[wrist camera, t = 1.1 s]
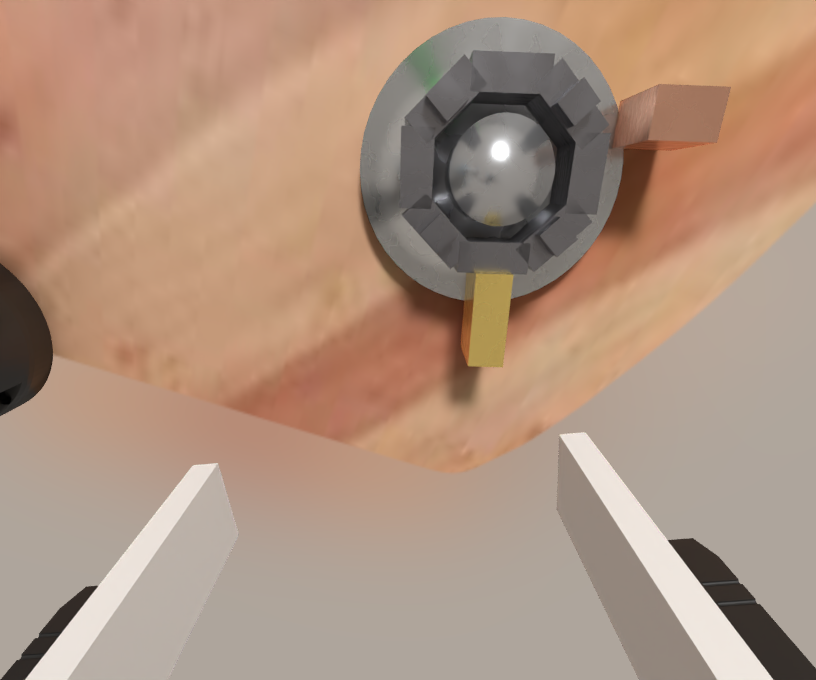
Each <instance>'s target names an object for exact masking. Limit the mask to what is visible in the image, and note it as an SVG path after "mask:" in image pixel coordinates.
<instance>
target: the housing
mask: <svg viewBox="0 0 816 680" xmlns="http://www.w3.org/2000/svg"><path fill="white" fill-rule="evenodd" d="M473 50H479V51H504V52H529V53H554V54H555V60H554V65H555V64H556V63H558V62H559V61H560V60H561V59H562V58H563V59H564V60H565V61H566V63H567V64H568V66H569V67H570V69H571V70H572V72H573V73H574V74H575V76H576V77H577V79H578V80H580V79H582V78H583V77H585V79H586V80H587V82H588V83H589V84H590V86H591V87H592V89H593V90H594V92H595V93H596V95H597V96H598V98H599V99H600V100H601V102H600V103H598V104H597V105H596V106H597V108H598V109H599V110H600V112H601V113H602V115H603V116H604V118H605V119H606V121H607V122H608V123H609V125H608V126H607V127H606V128H605V129H604V130H603V131H602V132H601V133H611V136H610V142H609V148H608V153H607V159H606V165H605V170H604V176H603V182H602V188H601V193H600V199H599V205H598V210H597V215H591V214H587V216H588V217H589V218H590V220H591V221H592V223H591V224H590V225H589V226H587V227H586V228H585V229H584V230H583V231H582V232H580V233H579V234H578V235H577V236H576V237H577V238H578V240H577V241H576V242H574V243H573V244H572V245H571V246H570V247H569V248H567V249H566V250H565V251H564V252H563V253H562V254H560V255H559V256H558V257H555V256H552V257H551V258H550V259H549V260H548V261H547V262H545V263H544V264H543V265H542V266H541V267H540V268H538V269H537V270H536V271H535V272H534V271H532V270H530V269H529V268H528V271H527V275H524V274H513V284H512V292H511V299H512V298H516V297H519V296H523V295H526V294H528V293H531V292H533V291H535V290H538V289H540V288H542V287H544V286H545V285H547V284H549V283H550V282H552V281H554V280H555V279H557V278H558V277H559V276H561V275H562V274H564V273H565V272H566V271H568V270H569V269H570V268H571V267H572V266H573V265H574V264H575V263H576V262H577V261H578V260H579V259H580V258H581V257H582V256H583V255H584V254H585V253H586V251H587V250H588V249H589V248H590V247H591V245H592V244H593V243H594V241H595V240H596V238H597V237H598V235H599V234H600V232H601V231H602V229H603V227H604V225H605V223H606V221H607V219H608V217H609V215H610V213H611V210H612V208H613V205H614V202H615V200H616V197H617V193H618V189H619V185H620V181H621V175H622V167H623V149H643V150H670V151H671V150H677V149H682V148H688V147H694V146H700V145H706V144H712V143H717V140H718V136H719V132H720V128H721V124H722V120H723V116H724V112H725V109H726V105H727V101H728V97H729V93H730V89H731V87H719V86H693V85H667V84H659V85H656V86H654V87H652V88H650V89H647V90H645V91H643V92H640V93H638V94H636V95H634V96H631V97H629V98H627V99H625V100H622V101H620V106H619V112H618V108H617V104H616V102H615V99H614V97H613V94H612V92H611V89H610V87H609V85H608V84H607V82H606V80H605V78H604V77H603V75H602V73H601V71H600V70H599V69H598V67H597V66H596V65H595V64H594V62H593V61H592V60H591V58H590V57H589V56H588V55H587V54H586V53H585V52H584V51H583V50H582V49H581V48H579V47H578V46H577V45H576V44H575V43H574V42H572V41H571V40H569V39H568V38H567V37H565V36H564V35H562V34H561V33H559V32H557V31H555V30H553V29H551V28H549V27H546V26H544V25H542V24H538V23H535V22H532V21H528V20H525V19H517V18H508V17H497V18H483V19H478V20H473V21H468V22H465V23H462V24H459V25H456V26H454V27H451V28H448V29H446V30H445V31H443V32H441V33H439V34H437V35H435V36H433V37H431V38H430V39H429V40H427V41H426V42H425V43H423V44H422V45H420V46H419V47H418V48H416V49H415V50H414V51H413V52H412V53H411V54H410V55H409V56H408V57H407V58H406V59H405V60H404V61H403V62H402V63H401V64H400V65H399V66H398V67H397V69H396V70H395V71H394V72H393V74H392V75H391V76H390V77H389V79H388V80H387V82H386V84H385V85H384V87H383V89H382V90H381V92H380V93H379V95H378V97H377V99H376V102H375V104H374V106H373V108H372V111H371V113H370V116H369V119H368V122H367V125H366V129H365V132H364V137H363V143H362V148H361V160H360V178H361V190H362V195H363V200H364V206H365V209H366V212H367V215H368V218H369V221H370V224H371V226H372V228H373V230H374V232H375V234H376V237H377V239H378V240H379V242H380V243H381V245H382V246H383V248H384V250H385V251H386V253H387V254H388V255H389V256H390V257H391V259H392V260H393V261H394V262H395V263H396V265H397V266H398V267H400V268H401V269H402V270H403V271H404V272H405V273H406V274H407V275H408V276H410V277H411V278H412V279H414V280H415V281H417V282H418V283H419V284H421V285H423V286H425V287H426V288H428V289H430V290H432V291H434V292H437V293H439V294H442V295H445V296H447V297H451V298H455V299H459V300H464V298H465V286H466V273H460V272H457V271H456V270H455V268H454V267H452V268H451V269H450V268H449V267H448V266H447V265H446V264H445V263H444V262H443V261H442V259H441V258H440V257H439V256H438V255H437V254H436V253H435V252H434V251H433V250H432V248H431V247H430V246H429V245H428V244H427V243H426V242H425V241H424V240H423V238H422V237H421V236H420V235H419V234H418V233H417V232H416V231H415V230H414V228H413V227H412V226H411V225H410V224H409V223H408V222H407V221H406V220H405V219H404V217H403V216H402V214H403V213H404V212H405V211H406V210H407V209H408V208H399V199H400V158H401V126H405V116H406V115H407V114H408V113H409V112H410V111H411V110H412V109H413V108H414V107H415V106H416V105H417V104H418V103H419V101H420V100H421V99H422V98H423V97H424V96H425V95H426V94H427V93H428V91H429V90H430V89H431V88H432V87H433V86H434V85H435V84H436V83H437V82H438V81H439V80H440V79H441V78H442V77H443V76H444V75H445V74H446V73H447V72H448V71H449V70H450V69H451V68H452V67H453V66H454V65H455V64H456V62H457V61H458V60H459V59H460V58H461V57H462V56H463V55H464V54H465V55H466V56H467V58H468V59H469V58H470V56H471V54H472V52H473ZM556 154H557V147H556V146H555V145H554V143H553V142H552V141H551V139H550V138H549V137H548V135H547V134H546V133H545V131H544V130H543V129H542V127H541V126H540V125H539V123H538V122H537V121H536V119H535V118H534V117H533V115H532V114H531V112H530V111H529V110H528V108H527V107H526V106H525V105H500V104H474V103H471V104H470V105H469V106H468V107H467V108H466V110H465V111H464V112H463V113H462V114H461V115H460V116H459V117H458V118H457V119H456V120H455V121H454V122H453V123H452V124H451V125H450V126H449V127H448V128H447V129H446V130H445V131H444V132H443V133H442V134H441V135H440V136H439V137H438V138H437V139H436V140H435V144H434V164H433V185H432V201H433V202H434V203H435V204H436V205H437V206H438V207H439V209H440V210H441V211H442V212H443V213H444V214H445V216H446V217H447V218H448V219H449V220H450V221H451V222H452V224H453V225H454V226H455V227H456V228H457V229H458V230H459V232H460V233H461V234H462V235H463V236H464V237H483V238H511V237H513V236H514V235H515V234H516V233H517V232H518V231H519V230H520V229H522V228H523V227H524V226H525V225H526V224H527V223H528V222H529V221H530V220H532V219H533V218H534V217H535V216H536V215H537V214H538V213H539V212H541V211H542V210H543V209H544V208H545V207H546V206H547V205H548V204H549V203H550V197H551V190H552V183H553V180H554V175H555V161H556Z"/></svg>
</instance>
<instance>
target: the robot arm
mask: <svg viewBox="0 0 816 680" xmlns="http://www.w3.org/2000/svg"><path fill="white" fill-rule="evenodd" d="M52 361H53V350H52V340H51V336H50V331H49V328H48V325H47V323H46V320H45V318H44V316H43V313H42V311H41V310H40V308H39V306H38V304H37V303H36V301H35V300H34V298H33V297H32V295H31V294H30V293H29V291H28V290H27V289H26V288H25V286H24V285H23V284H22V283H21V282H20V281H19V280H18V279H17V278H16V277H15V276H14V275H13V274H12V273H11V272H10V271H9V270H8V269H6V268H5V267H4V266H3V265H1V264H0V416H1V415H3V414H5V413H7V412H9V411H11V410H13V409H14V408H16V407H18V406H20V405H22V404H24V403H25V402H27V401H29V400H30V399H31V398H33V397H34V396H35V395H36V394H37V393H38V392H39V391H40V390H41V389H42V387H43V386H44V384H45V383H46V381H47V379H48V376H49V374H50V371H51V366H52ZM558 458H559V459H558V487H557V511H558V513H559V515H560V517H561V519H562V521H563V523H564V526H565V527H566V530H567V532H568V534H569V536H570V538H571V540H572V542H573V544H574V546H575V548H576V550H577V552H578V555H579V557H580V559H581V561H582V563H583V565H584V567H585V569H586V571H587V573H588V575H589V577H590V579H591V581H592V584H593V586H594V588H595V589H596V592H597V594H598V596H599V598H600V600H601V602H602V604H603V606H604V608H605V610H606V612H607V614H608V617H609V619H610V621H611V623H612V625H613V627H614V629H615V631H616V633H617V635H618V637H619V639H620V641H621V644H622V646H623V648H624V650H625V652H626V654H627V656H628V658H629V660H630V662H631V664H632V666H633V668H634V670H635V672H636V675H637V677H638V679H639V680H816V668H815V667H814V666H813V665H812V664H811V663H810V661H808V659H807V658H806V657H805V656H804V655H803V653H802V652H801V651H800V650H799V649H798V648H797V646H796V645H795V644H794V643H793V642H792V641H791V640H790V638H789V637H788V636H787V635H786V634H785V633H784V632H783V630H782V629H781V628H780V627H779V626H778V625H777V623H776V622H775V621H774V620H773V619H772V618H771V617H770V615H769V614H768V613H767V612H766V611H765V610H764V608H763V607H762V606H761V605H760V604H757V603H756V601H755V598H754V597H753V596H752V595H751V594H750V592H749V591H748V590H747V589H746V588H745V587H744V585H743V584H740V583H739V581H738V578H737V577H736V576H735V575H734V574H733V573H732V572H731V570H730V569H729V568H728V567H727V566H726V565H725V564H724V562H723V561H722V560H721V559H720V558H719V557H718V556H717V555H716V554H714V553H713V552H711V551H710V550H708V549H707V548H706V547H704V546H703V545H701V544H700V543H699V542H697V541H696V540H694V539H693V538H691V539H677V540H667V539H666V538H665V536H664V535H663V534H662V533H661V531H660V530H659V529H658V527H657V526H656V525H655V523H654V522H653V521H652V519H651V518H650V517H649V515H648V514H647V513H646V512H645V510H644V509H643V508H642V506H641V505H640V504H639V503H638V501H637V500H636V498H635V497H634V496H633V495H632V493H631V492H630V491H629V489H628V488H627V487H626V485H625V484H624V483H623V481H622V480H621V479H620V477H619V476H618V475H617V474H616V472H615V471H614V469H613V468H612V467H611V466H610V464H609V463H608V462H607V460H606V459H605V458H604V456H603V455H602V454H601V452H600V451H599V450H598V448H597V447H596V446H595V444H594V443H593V442H592V441H591V439H590V438H589V437H588V436H587V434H586V433H585V432H584V433H571V434H560V435H559V455H558ZM238 535H239V534H238V530H237V527H236V523H235V520H234V517H233V513H232V509H231V506H230V503H229V499H228V496H227V493H226V489H225V485H224V482H223V479H222V475H221V472H220V468H219V465H218V463H215V464H203V465H193V466H192V467H191V469H190V470H189V471H188V472H187V474H186V475H185V476H184V478H183V479H182V480H181V481H180V483H179V484H178V485H177V486H176V488H175V489H174V490H173V492H172V493H171V494H170V495H169V497H168V498H167V499H166V501H165V502H164V503H163V504H162V506H161V507H160V508H159V509H158V511H157V512H156V513H155V515H154V516H153V517H152V518H151V520H150V521H149V522H148V523H147V525H146V526H145V527H144V529H143V530H142V531H141V533H140V534H139V535H138V536H137V537H136V539H135V540H134V541H133V543H132V544H131V545H130V546H129V548H128V549H127V550H126V552H125V553H124V554H123V555H122V557H121V558H120V559H119V560H118V562H117V563H116V564H115V566H114V567H113V568H112V569H111V571H110V572H109V573H108V575H107V576H106V577H105V579H104V580H103V581H102V582H101V584H100V585H99V586H89V587H85V588H84V589H83V590H82V591H81V592H79V593H78V594H77V595H76V596H74V597H73V598H72V599H71V600H70V601H68V602H67V603H66V604H65V605H64V606H62V607H61V608H60V609H59V610H58V611H57V613H56V614H55V615H54V616H53V618H52V619H51V620H50V621H49V622H48V624H47V625H46V626H45V627H44V628H43V629H42V631H41V632H40V633H39V637H38V638H35V639H34V640H33V641H32V643H31V644H30V645H29V646H28V647H27V649H26V650H25V651H24V652H23V653H22V657H21V659H20V660H17V661H16V662H15V663H14V664H13V666H12V667H11V668H10V669H9V670H8V671H7V673H6V674H5V675H4V676H3V677H2V679H1V680H168V679H169V677H170V675H171V673H172V671H173V669H174V667H175V665H176V663H177V661H178V659H179V657H180V654H181V652H182V650H183V648H184V646H185V644H186V642H187V640H188V638H189V636H190V634H191V632H192V630H193V628H194V626H195V624H196V622H197V620H198V617H199V616H200V614H201V611H202V609H203V607H204V605H205V603H206V601H207V599H208V597H209V595H210V593H211V591H212V589H213V587H214V585H215V583H216V581H217V578H218V576H219V575H220V573H221V570H222V568H223V566H224V564H225V562H226V560H227V558H228V556H229V554H230V552H231V550H232V548H233V546H234V544H235V542H236V540H237V538H238Z"/></svg>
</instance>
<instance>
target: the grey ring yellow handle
mask: <svg viewBox="0 0 816 680" xmlns="http://www.w3.org/2000/svg"><path fill="white" fill-rule="evenodd" d="M554 60H555V54H554V53H529V52H504V51H479V50H473V52H472V54H471V56H470V58H469V59H468V58H467V56H466V55H465V54H464V55H463V56H462V57H461V58H460V59H459V60H458V61H457V62H456V64H455V65H454V66H453V67H452V68H451V69H450V70H449V71H448V72H447V73H446V74H445V75H444V76H443V77H442V78H441V79H440V80H439V81H438V82H437V83H436V84H435V85H434V86H433V87H432V88H431V89H430V90H429V91H428V93H427V94H426V95H425V96H424V97H423V98H422V99H421V100H420V101H419V103H418V104H417V105H416V106H415V107H414V108H413V109H412V110H411V111H410V112H409V113H408V114H407V115H406V116H405V126H401V158H400V199H399V208H408V209H407V210H406V211H405V212H404V213H403V214H402V216H403V217H404V219H405V220H406V221H407V222H408V223H409V224H410V225H411V226H412V227H413V228H414V230H415V231H416V232H417V233H418V234H419V235H420V236H421V237H422V238H423V240H424V241H425V242H426V243H427V244H428V245H429V246H430V247H431V248H432V250H433V251H434V252H435V253H436V254H437V255H438V256H439V257H440V258H441V259H442V261H443V262H444V263H445V264H446V265H447V266H448V267H449V268H450V269H451V268H452V267H454V268H455V270H456V271H457V272H460V273H466V286H465V298H464V311H463V323H462V336H461V348H462V351H463V354H464V357H465V359H466V362H467V365H468V366H478V367H503V360H504V352H505V343H506V335H507V326H508V318H509V309H510V301H511V292H512V284H513V274H524V275H527V271H528V268H529V269H530V270H532V271H534V272H535V271H536V270H537V269H538V268H540V267H541V266H542V265H543V264H544V263H545V262H547V261H548V260H549V259H550V258H551V257H552V256H555V257H558V256H559V255H560V254H562V253H563V252H564V251H565V250H566V249H567V248H569V247H570V246H571V245H572V244H573V243H574V242H576V241H577V240H578V238H577V237H576V236H577V235H578V234H579V233H580V232H582V231H583V230H584V229H585V228H586V227H587V226H589V225H590V224H591V223H592V221H591V220H590V218H589V217H588V216H587V214H591V215H597V210H598V205H599V199H600V193H601V188H602V182H603V176H604V170H605V165H606V159H607V153H608V148H609V142H610V136H611V133H601V132H602V131H603V130H604V129H605V128H606V127H607V126H608V125H609V123H608V122H607V121H606V119H605V118H604V116H603V115H602V113H601V112H600V110H599V109H598V108H597V106H596V105H597V104H598V103H600V102H601V100H600V99H599V98H598V96H597V95H596V93H595V92H594V90H593V89H592V87H591V86H590V84H589V83H588V82H587V80H586V79H585V77H583V78H582V79H580V80H578V79H577V77H576V76H575V74H574V73H573V72H572V70H571V69H570V67H569V66H568V64H567V63H566V61H565V60H564V59H563V58H562V59H561V60H560V61H559V62H558V63H556V64H555V65H554ZM471 103H474V104H500V105H525V106H526V107H527V108H528V110H529V111H530V112H531V114H532V115H533V117H534V118H535V119H536V121H537V122H538V123H539V125H540V126H541V127H542V129H543V130H544V131H545V133H546V134H547V135H548V137H549V138H550V139H551V141H552V142H553V143H554V145H555V146H556V147H557V154H556V161H555V175H554V180H553V183H552V190H551V197H550V203H549V204H548V205H547V206H546V207H545V208H544V209H543V210H542V211H541V212H539V213H538V214H537V215H536V216H535V217H534V218H533V219H532V220H530V221H529V222H528V223H527V224H526V225H525V226H524V227H523V228H522V229H520V230H519V231H518V232H517V233H516V234H515V235H514V236H513V237H511V238H483V237H464V236H463V235H462V234H461V233H460V232H459V230H458V229H457V228H456V227H455V226H454V225H453V224H452V222H451V221H450V220H449V219H448V218H447V217H446V216H445V214H444V213H443V212H442V211H441V210H440V209H439V207H438V206H437V205H436V204H435V203H434V202H433V201H432V185H433V164H434V144H435V140H436V139H437V138H438V137H439V136H440V135H441V134H442V133H443V132H444V131H445V130H446V129H447V128H448V127H449V126H450V125H451V124H452V123H453V122H454V121H455V120H456V119H457V118H458V117H459V116H460V115H461V114H462V113H463V112H464V111H465V110H466V108H467V107H468V106H469V105H470V104H471Z"/></svg>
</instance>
